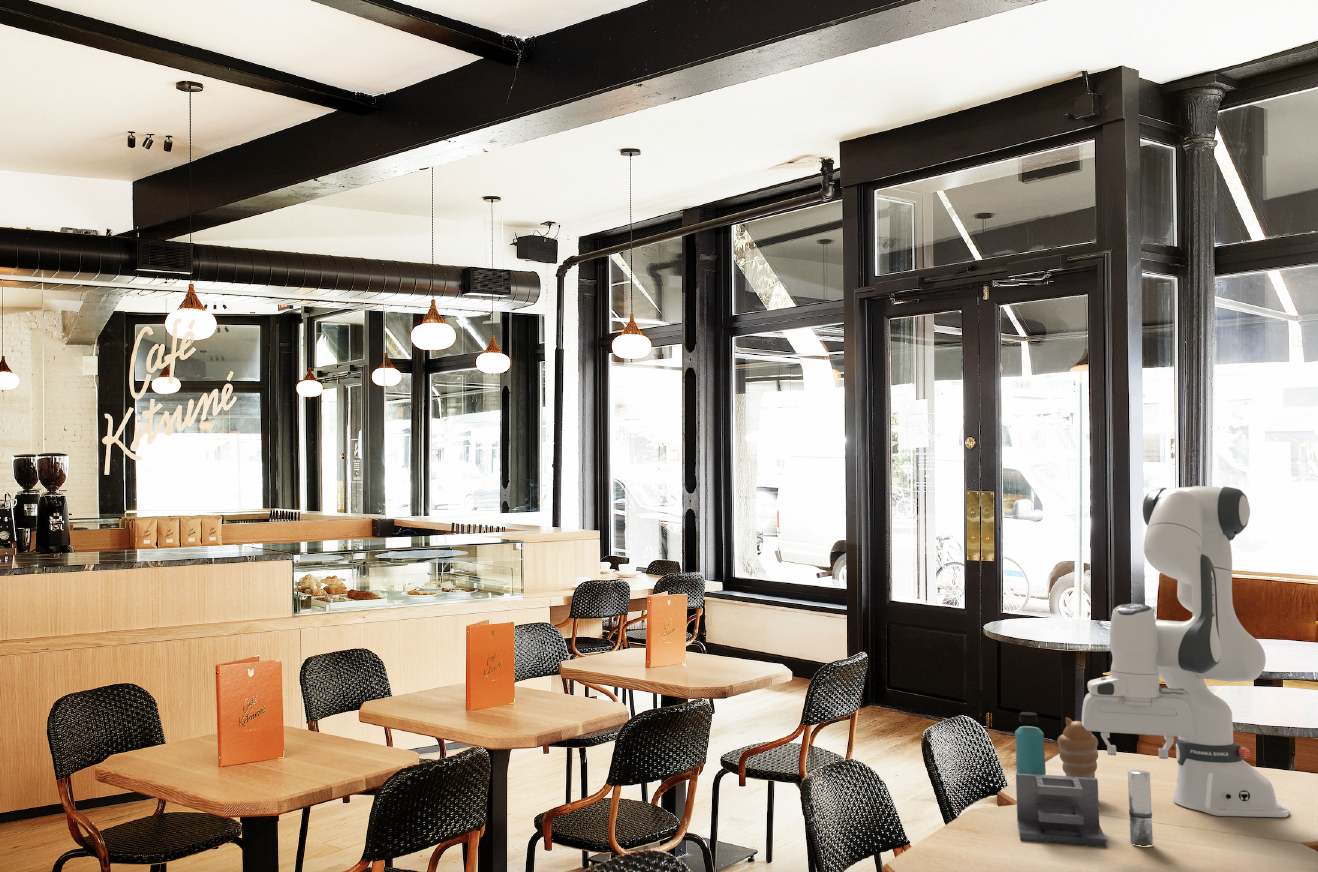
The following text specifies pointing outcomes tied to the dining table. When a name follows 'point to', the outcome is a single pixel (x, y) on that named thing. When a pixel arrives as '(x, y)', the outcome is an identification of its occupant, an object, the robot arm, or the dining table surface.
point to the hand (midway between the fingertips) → (1137, 756)
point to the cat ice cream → (1078, 750)
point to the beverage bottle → (1029, 746)
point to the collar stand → (1058, 809)
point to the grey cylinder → (1140, 807)
